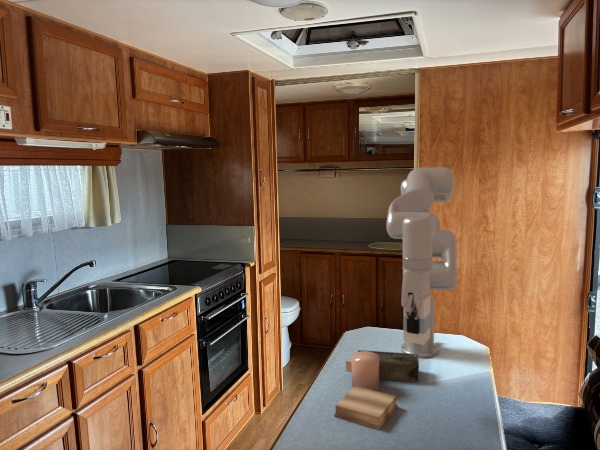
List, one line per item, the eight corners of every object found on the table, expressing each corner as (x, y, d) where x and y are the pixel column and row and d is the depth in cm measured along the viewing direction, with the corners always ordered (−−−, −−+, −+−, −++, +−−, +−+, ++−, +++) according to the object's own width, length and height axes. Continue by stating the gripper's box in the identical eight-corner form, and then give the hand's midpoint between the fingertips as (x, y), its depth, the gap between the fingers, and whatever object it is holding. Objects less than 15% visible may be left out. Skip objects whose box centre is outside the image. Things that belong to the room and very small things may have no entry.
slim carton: (410, 333, 131) (410, 289, 129) (430, 337, 128) (430, 292, 126) (403, 341, 126) (403, 294, 124) (423, 345, 123) (424, 297, 121)
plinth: (354, 395, 134) (354, 385, 134) (397, 406, 127) (397, 395, 127) (334, 416, 123) (334, 405, 123) (379, 429, 117) (379, 418, 116)
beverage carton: (419, 383, 140) (419, 362, 140) (354, 379, 144) (354, 358, 143) (418, 371, 148) (418, 351, 147) (356, 368, 152) (356, 348, 151)
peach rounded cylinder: (352, 375, 146) (352, 348, 145) (383, 383, 141) (383, 354, 139) (340, 386, 139) (340, 357, 138) (372, 394, 134) (372, 364, 133)
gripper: (413, 255, 133) (413, 317, 136) (391, 269, 119) (391, 337, 122) (440, 257, 129) (439, 321, 132) (421, 272, 115) (420, 343, 118)
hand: (416, 328), depth 127 cm, fingers closed on slim carton, 5 cm apart
